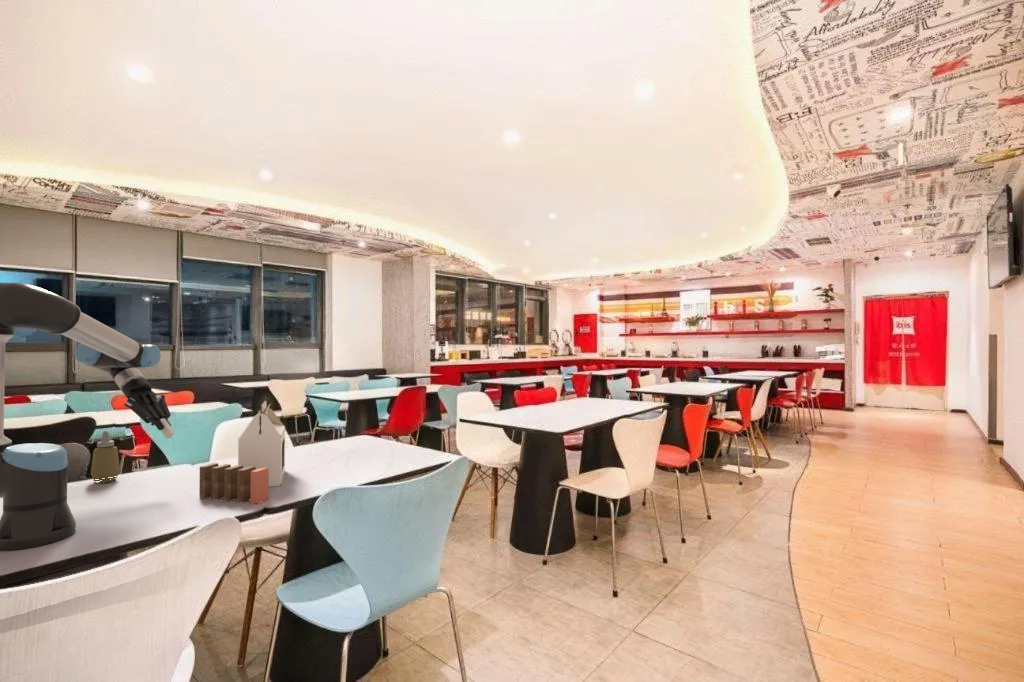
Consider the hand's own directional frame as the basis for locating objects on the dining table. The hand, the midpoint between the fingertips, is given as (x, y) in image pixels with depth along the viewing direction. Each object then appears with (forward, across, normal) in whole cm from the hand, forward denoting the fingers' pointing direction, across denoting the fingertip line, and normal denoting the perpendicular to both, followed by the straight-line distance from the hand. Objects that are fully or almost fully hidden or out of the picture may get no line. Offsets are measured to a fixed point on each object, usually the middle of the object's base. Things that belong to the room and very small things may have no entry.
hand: (170, 435), depth 163 cm
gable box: (+27, -20, 0) cm, 34 cm away
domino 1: (+25, 0, -2) cm, 25 cm away
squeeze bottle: (-10, -2, -37) cm, 38 cm away
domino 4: (+35, 0, +9) cm, 37 cm away
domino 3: (+32, 0, +6) cm, 32 cm away
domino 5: (+39, 0, +13) cm, 41 cm away
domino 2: (+28, 0, +2) cm, 28 cm away
